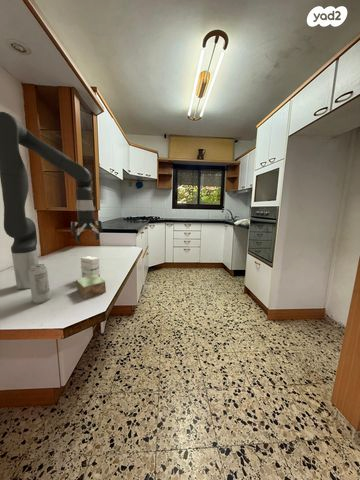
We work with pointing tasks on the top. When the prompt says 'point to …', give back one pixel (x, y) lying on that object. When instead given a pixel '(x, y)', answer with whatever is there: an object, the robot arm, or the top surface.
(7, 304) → the top surface
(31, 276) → the energy drink can
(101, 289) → the stand
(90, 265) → the ink box
